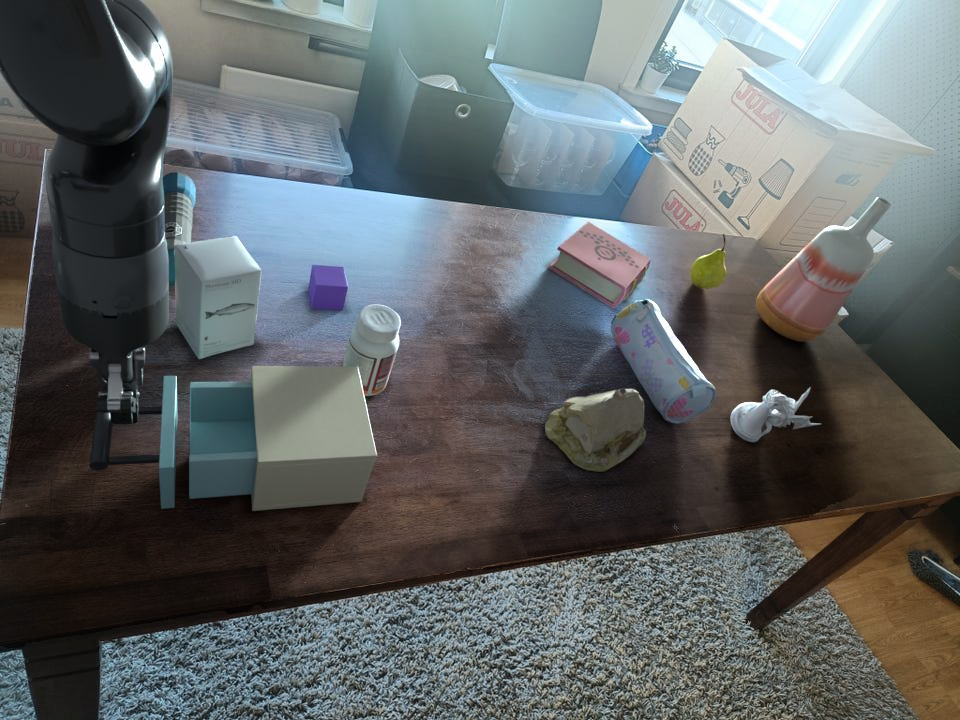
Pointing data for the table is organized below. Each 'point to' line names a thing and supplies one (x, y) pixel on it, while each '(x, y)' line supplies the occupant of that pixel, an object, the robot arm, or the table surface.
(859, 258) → the vase
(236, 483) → the drawer
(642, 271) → the book
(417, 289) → the table surface
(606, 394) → the beige rock
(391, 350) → the pill bottle
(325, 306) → the purple cube
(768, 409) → the figurine
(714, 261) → the fruit
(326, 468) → the block
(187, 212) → the flashlight
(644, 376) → the pencil case
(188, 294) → the white packaging box
